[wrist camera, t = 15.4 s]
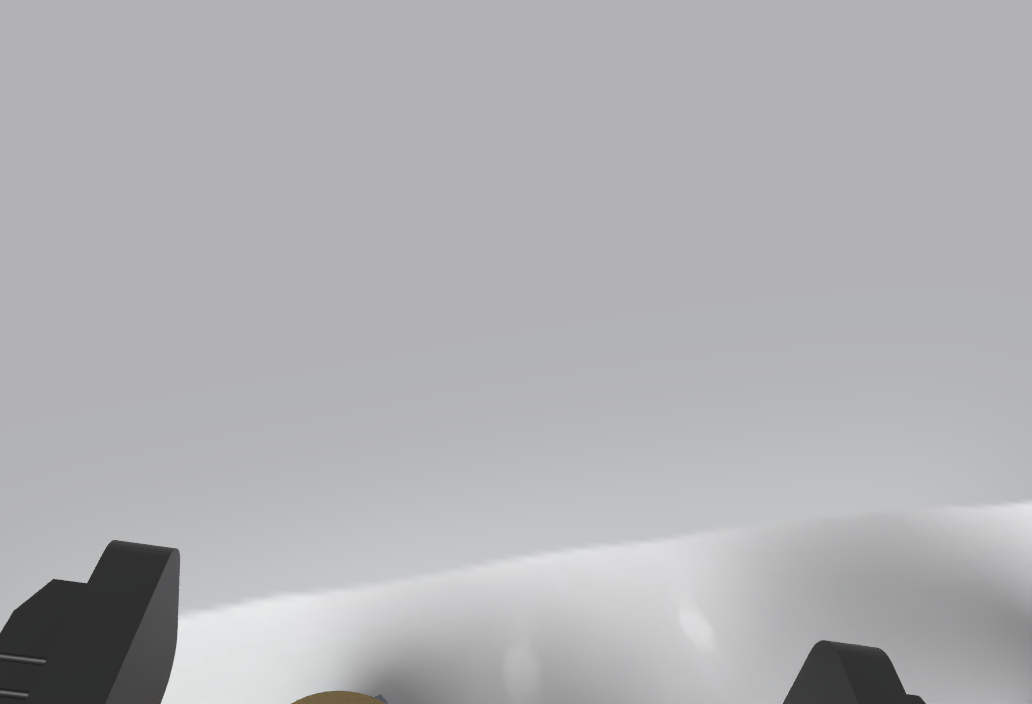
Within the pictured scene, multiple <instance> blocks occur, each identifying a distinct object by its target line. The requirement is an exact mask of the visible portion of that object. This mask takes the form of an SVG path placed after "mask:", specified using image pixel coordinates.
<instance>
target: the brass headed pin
mask: <svg viewBox="0 0 1032 704" xmlns="http://www.w3.org/2000/svg"><path fill="white" fill-rule="evenodd" d="M292 704H385V703H384V702H382V701H380V700H378V699H375V698H373V697H370V696H368V695H364V694H360V693H355V692H348V691H330V692H323V693H317V694H313V695H310V696H307V697H304V698H302V699H300V700H297V701H295V702H294V703H292Z"/></svg>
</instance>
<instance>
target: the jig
mask: <svg viewBox="0 0 1032 704" xmlns="http://www.w3.org/2000/svg"><path fill="white" fill-rule="evenodd" d="M375 699H378V700H380V701H382V702H384V703H385V704H388V703H387V702H386V701H385V699H384V698H383V697H382V696H381V694H380V695H379V696H377V697H375Z"/></svg>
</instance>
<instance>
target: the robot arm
mask: <svg viewBox="0 0 1032 704" xmlns="http://www.w3.org/2000/svg"><path fill="white" fill-rule="evenodd" d="M179 573H180V553H179V550H178V549H176V548H168V547H161V546H153V545H146V544H139V543H132V542H124V541H118V540H113V541H111V542H110V543H109V545H108V546H107V547H106V549H105V551H104V553H103V554H102V557H101V558H100V560H99V562H98V564H97V566H96V567H95V569H94V571H93V573H92V575H91V577H90V579H89V581H88V583H79V582H71V581H64V580H57V579H53V580H52V581H51V582H49V583H48V584H47V585H46V586H44V587H43V588H42V589H41V590H39V591H38V592H37V593H36V594H34V595H33V596H32V597H31V598H29V599H28V600H27V601H25V602H24V603H23V604H22V605H21V606H19V607H18V608H17V609H15V610H14V611H13V613H12V615H11V616H10V618H9V620H8V622H7V623H6V625H5V626H4V628H3V630H2V631H1V633H0V704H161V701H162V698H163V696H164V693H165V690H166V687H167V684H168V681H169V677H170V673H171V669H172V665H173V661H174V656H175V650H176V643H177V629H178V600H179ZM783 704H926V703H925V702H924V701H923V700H922V699H921V698H920V697H919V696H916V695H908V694H906V692H905V690H904V688H903V686H902V684H901V682H900V680H899V677H898V675H897V673H896V671H895V669H894V667H893V665H892V663H891V661H890V659H889V657H888V656H887V654H886V653H885V652H884V651H883V650H881V649H879V648H875V647H868V646H861V645H854V644H847V643H839V642H832V641H825V640H822V641H819V642H818V643H816V644H815V645H814V647H813V648H812V650H811V651H810V653H809V655H808V657H807V659H806V661H805V663H804V665H803V667H802V669H801V670H800V672H799V674H798V676H797V678H796V680H795V682H794V684H793V686H792V687H791V689H790V691H789V693H788V695H787V697H786V699H785V701H784V703H783Z"/></svg>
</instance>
